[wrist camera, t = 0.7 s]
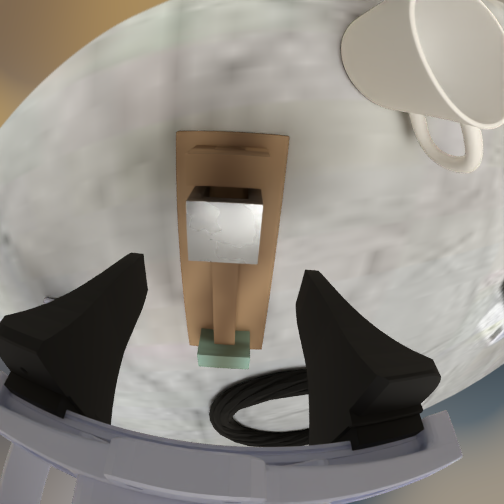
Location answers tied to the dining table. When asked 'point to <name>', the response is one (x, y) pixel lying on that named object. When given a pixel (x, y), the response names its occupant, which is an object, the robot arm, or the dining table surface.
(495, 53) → the cup
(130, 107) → the dining table surface
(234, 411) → the cable lock
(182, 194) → the rail
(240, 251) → the keeper
